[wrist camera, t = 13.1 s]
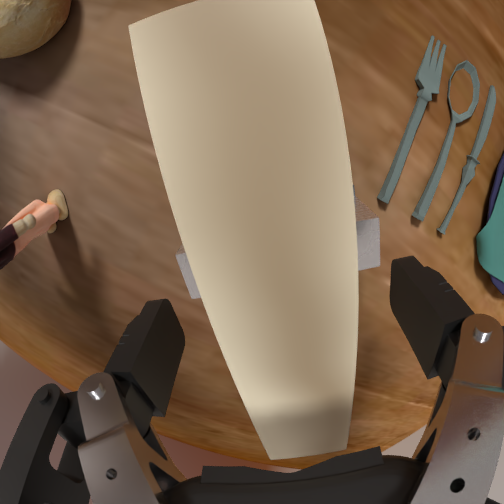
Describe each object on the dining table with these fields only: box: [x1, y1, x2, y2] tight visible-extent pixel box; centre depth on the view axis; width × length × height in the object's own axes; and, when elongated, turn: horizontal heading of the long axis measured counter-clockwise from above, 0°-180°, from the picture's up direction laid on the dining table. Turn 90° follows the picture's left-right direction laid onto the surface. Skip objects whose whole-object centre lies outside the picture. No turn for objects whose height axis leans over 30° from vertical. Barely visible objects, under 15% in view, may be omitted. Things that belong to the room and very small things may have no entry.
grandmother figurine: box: [0, 189, 68, 269], centre depth 14 cm, size 8×4×13 cm, turn 130°
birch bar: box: [129, 0, 358, 460], centre depth 10 cm, size 4×18×5 cm, turn 12°
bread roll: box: [0, 0, 71, 59], centre depth 8 cm, size 10×15×8 cm, turn 60°
